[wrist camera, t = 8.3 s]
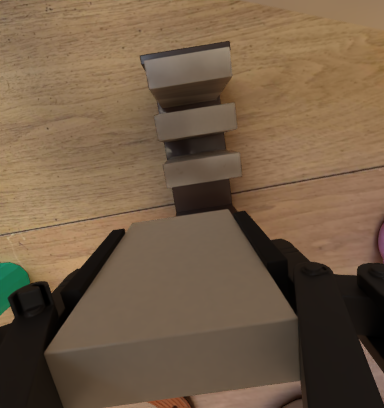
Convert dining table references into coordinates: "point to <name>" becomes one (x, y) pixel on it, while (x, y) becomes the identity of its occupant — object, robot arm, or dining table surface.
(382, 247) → the teapot
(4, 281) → the candle
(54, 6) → the dining table surface
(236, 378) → the cream book
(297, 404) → the chamber pot
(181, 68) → the cream rack
